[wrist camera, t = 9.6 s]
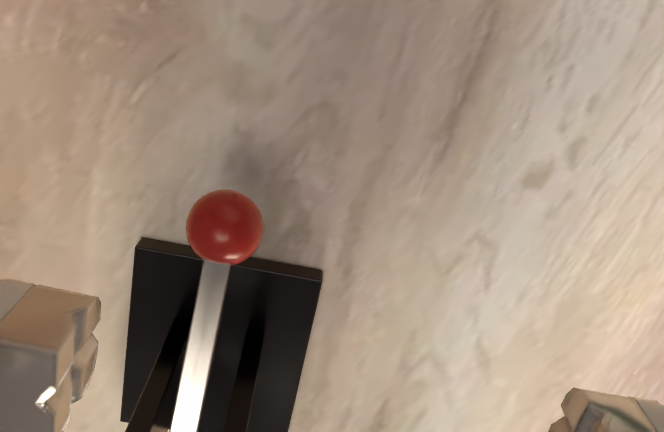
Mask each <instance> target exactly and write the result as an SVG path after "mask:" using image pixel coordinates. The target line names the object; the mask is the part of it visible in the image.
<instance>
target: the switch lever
mask: <svg viewBox="0 0 664 432" xmlns="http://www.w3.org/2000/svg"><path fill="white" fill-rule="evenodd" d="M186 234H187V239H188V242H189V244H190V246H191V248H192V249H193V251H194V252H195V253H196V254H197V255H198V256H199V257H200V258H202V259H203V260H204V262H203V267H202V272H201V277H200V282H199V287H198V292H197V297H196V302H195V307H194V312H193V317H192V322H191V326H190V331H189V336H188V341H187V346H186V351H185V356H184V361H183V366H182V371H181V376H180V381H179V386H178V391H177V396H176V401H175V406H174V411H173V416H172V421H171V426H170V431H169V432H199V430H200V424H201V419H202V414H203V409H204V404H205V399H206V394H207V389H208V384H209V379H210V374H211V369H212V363H213V358H214V353H215V348H216V343H217V338H218V333H219V328H220V323H221V318H222V313H223V308H224V303H225V297H226V292H227V287H228V282H229V277H230V272H231V267H232V265H235V264H238V263H240V262H243V261H244V260H246V259H247V258H249V257H250V256H251V255H252V254H253V253H254V252H255V251H256V249H257V248H258V246H259V244H260V242H261V239H262V235H263V220H262V216H261V214H260V211H259V209H258V208H257V206H256V205H255V204H254V202H253V201H252V200H251V199H249V198H248V197H247V196H245V195H243V194H241V193H239V192H236V191H232V190H217V191H213V192H210V193H208V194H206V195H204V196H203V197H201V198H200V199H199V200H198V201H197V202H196V203H195V204H194V205H193V207H192V208H191V210H190V212H189V214H188V217H187V222H186Z"/></svg>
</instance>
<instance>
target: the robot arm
mask: <svg viewBox="0 0 664 432" xmlns="http://www.w3.org/2000/svg"><path fill="white" fill-rule="evenodd" d="M100 311H101V302H100V300H99V298H98V297H95V296H90V295H85V294H81V293H76V292H71V291H66V290H62V289H57V288H52V287H47V286H43V285H35V284H33V283H28V282H22V281H17V280H12V279H3V280H0V432H63V431H64V429H65V427H66V425H67V423H68V422H69V420H70V415H71V404H72V403H74V402H76V401H77V400H79V399H81V398H82V396H83V394H84V393H85V391H86V389H87V387H88V385H89V382H90V379H91V376H92V373H93V371H94V367H95V362H96V357H97V351H98V341H97V339H96V338H95V336H94V335H93V333H92V332H93V330H94V329H95V327H96V325H97V324H98V322H99V320H100ZM561 407H562V410H563V413H564V417H562V418H561V419H559V420H558V421H556V422H554V423H553V424H551V427H550V429H549V431H548V432H664V406H663V405H662V404H660V403H659V402H657V401H654V400H647V399H641V398H635V397H624V396H618V395H613V394H607V393H601V392H596V391H590V390H584V389H579V388H572V389H571V390H570V391H569V392H568V393H567V394H566V396H565V398H564V400H563V402H562V404H561Z"/></svg>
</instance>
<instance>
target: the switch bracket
mask: <svg viewBox="0 0 664 432" xmlns="http://www.w3.org/2000/svg"><path fill="white" fill-rule="evenodd" d="M203 262H204V260H203V259H202V258H200V257H199V256H198V255H197V254H196V253H195V252H194V251H193V249H192V248H191V246H186V245H181V244H175V243H170V242H165V241H159V240H154V239H148V238H143V237H142V238H141V239H140V241H139V242H138V244H137V245H136V247H135V254H134V266H133V278H132V290H131V301H130V313H129V325H128V337H127V348H126V360H125V372H124V384H123V396H122V407H121V419H120V421H121V422H127V423H129V424H128V426H127V429H126V431H125V432H167V431H168V429H170V426H171V421H172V416H173V411H174V406H175V401H176V396H177V391H178V386H179V381H180V376H181V371H182V366H183V361H184V356H185V351H186V346H187V341H188V336H189V331H190V326H191V322H192V317H193V312H194V307H195V302H196V297H197V292H198V287H199V282H200V277H201V272H202V267H203ZM322 276H323V271H322V270H317V269H311V268H306V267H301V266H295V265H290V264H284V263H279V262H273V261H268V260H262V259H257V258H252V257H249V258H247V259H246V260H244V261H243V262H240V263H238V264H235V265H232V267H231V272H230V277H229V282H228V287H227V292H226V297H225V303H224V308H223V313H222V318H221V323H220V328H219V333H218V338H217V343H216V348H215V353H214V358H213V363H212V369H211V374H210V379H209V384H208V389H207V394H206V399H205V404H204V409H203V414H202V419H201V424H200V430H199V432H288V429H289V424H290V420H291V415H292V411H293V407H294V402H295V398H296V394H297V389H298V385H299V381H300V376H301V372H302V368H303V363H304V359H305V355H306V350H307V346H308V341H309V337H310V333H311V328H312V324H313V320H314V315H315V311H316V307H317V302H318V298H319V294H320V289H321V285H322Z"/></svg>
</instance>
